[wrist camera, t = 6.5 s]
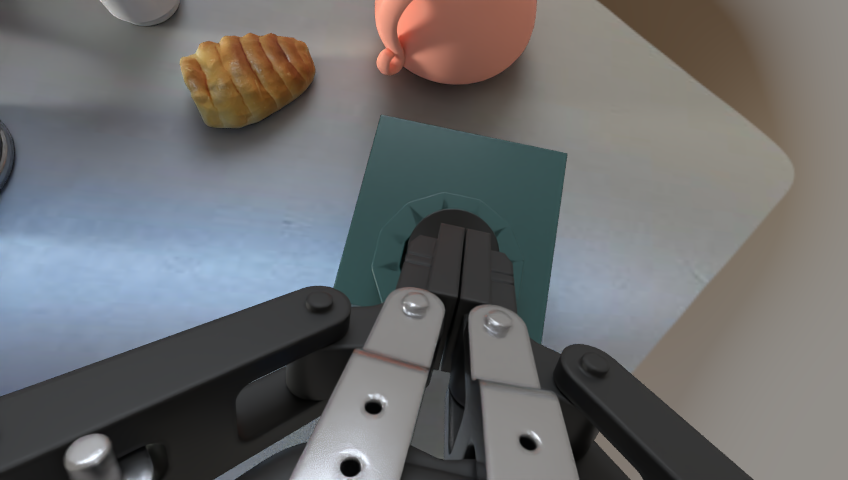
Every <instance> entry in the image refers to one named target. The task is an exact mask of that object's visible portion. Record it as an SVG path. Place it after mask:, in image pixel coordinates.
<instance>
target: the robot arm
mask: <svg viewBox="0 0 848 480" xmlns="http://www.w3.org/2000/svg"><path fill="white" fill-rule="evenodd" d="M13 161H14V145H13V140H12V137H11V135H10V133H9V131H8V129H7V128H6V127H5V125H4V124H3V123H2V122H1V121H0V190H1V189H2V187H3V186H4V184H5V182H6V181H7V179H8V177H9V174H10V172H11V169H12V166H13ZM464 231H465V228H463V227H458V226H454V225H449V224H444V223H441V225H440V230H439V234H438V239H437V238H432V237H428V236H423V235H419V236H418V237H417V238H415V239H414V240H412V241H411V242H410V245H409V248H408V251H407V255H406V258H405V261H404V264H403V267H402V270H401V273H400V276H399V280H398V283H397V286H396V289H395V290H394V291H393V292H391V293H390V294H389V295H388V297H387V298H386V300H385V302H383V303H381V304H378V305H374V306H359V307H351V302H350V300H349V298H348V297H347V296H346V295H345V294H344V293H342V292H341V291H339V290H337V289H334V288H331V287H326V286H311V287H306V288H302V289H300V290H297V291H294V292H291V293H288V294H286V295H283V296H280V297H277V298H275V299H272V300H269V301H266V302H263V303H261V304H258V305H255V306H252V307H249V308H247V309H244V310H241V311H238V312H235V313H233V314H230V315H227V316H224V317H221V318H219V319H216V320H213V321H210V322H208V323H205V324H202V325H199V326H196V327H194V328H191V329H188V330H185V331H182V332H180V333H177V334H174V335H171V336H168V337H166V338H163V339H160V340H157V341H155V342H152V343H149V344H146V345H143V346H141V347H138V348H135V349H132V350H129V351H127V352H124V353H121V354H118V355H115V356H113V357H110V358H107V359H104V360H102V361H99V362H96V363H93V364H90V365H88V366H85V367H82V368H79V369H76V370H74V371H71V372H68V373H65V374H62V375H60V376H57V377H54V378H51V379H48V380H46V381H43V382H40V383H37V384H35V385H32V386H29V387H26V388H23V389H21V390H18V391H15V392H12V393H9V394H7V395H4V396H1V397H0V480H213V479H215V478H217V477H218V476H220V475H222V474H224V473H225V472H227V471H229V470H230V469H232V468H234V467H235V466H237V465H239V464H240V463H242V462H244V461H245V460H247V459H249V458H250V457H252V456H254V455H255V454H257V453H259V452H260V451H262V450H264V449H266V448H267V447H269V446H271V445H272V444H274V443H276V442H277V441H279V440H281V439H282V438H284V437H286V436H287V435H289V434H291V433H292V432H294V431H296V430H297V429H299V428H301V427H303V426H304V425H306V424H308V423H309V422H311V421H313V420H314V419H316V418H318V417H319V416H321V417H320V419H319V421H318V423H317V425H316V427H315V429H314V431H313V433H312V435H311V437H310V439H309V441H308V442H306V443H302V444H298V445H295V446H292V447H290V448H287V449H284V450H282V451H280V452H278V453H276V454H274V455H272V456H271V457H269V458H267V459H266V460H264V461H262V462H261V463H259V464H258V465H256V466H255V467H253V468H252V469H250V470H249V471H247V472H246V473H244V474H243V475H241V476H240V477H238V478H236V479H235V480H630V479H629V478H628V476H627V475H625V473H624V472H623V471H622V470H621V469H620V468H619V467H618V466H617V465H616V464H615V463H614V462H613V460H612V459H610V457H609V456H608V455H607V454H606V453H605V452H604V451H603V450H602V449H601V448H600V447H599V446H598V444H597V443H596V442H595V441H594V439H595V438H596V436H597V434H598V433H599V431H600V432H601V433H602V434H603V435H604V437H606V439H607V440H608V441H609V442H610V443H611V444H612V445H613V446H614V447H615V448H616V449H617V450H618V451H619V452H620V453H621V454H622V455H623V456H624V457H625V458H626V459H627V460H628V461H629V462H630V463H631V465H632V466H633V467H635V469H636V470H637V471H638V472H639V473H640V475H641V476H642V478H643V480H753V479H752V478H751V477H750V476H749V475H748V474H746V473H745V472H744V471H743V470H742V469H741V468H739V467H738V466H737V465H736V464H735V463H734V462H733V461H731V460H730V459H729V458H728V457H727V456H725V455H724V454H723V453H722V452H721V451H720V450H718V448H716V447H715V446H714V445H713V444H712V443H710V442H709V441H708V440H707V439H706V438H705V437H704V436H702V435H701V434H700V433H699V432H698V431H697V430H696V429H694V428H693V427H692V426H691V425H690V424H689V423H687V422H686V421H685V420H684V419H683V418H682V417H680V416H679V415H678V414H677V413H676V412H675V411H674V410H672V409H671V408H670V407H669V406H668V405H667V404H665V403H664V402H663V401H662V400H661V399H660V398H658V397H657V396H656V395H655V394H654V393H653V392H652V391H650V390H649V389H648V388H647V387H646V386H645V385H644V384H642V383H641V382H640V381H639V380H638V379H637V378H635V377H634V376H633V375H632V374H631V373H630V372H628V371H627V370H626V369H625V368H624V367H623V366H622V365H620V364H619V363H618V362H617V361H616V360H615V359H613V358H612V357H611V356H610V355H608V354H607V353H605V352H603V351H601V350H600V349H597V348H595V347H592V346H589V345H584V344H573V345H570V346H568V347H566V348H565V349H564V350H563V352H562V354H560V353H558V352H555V351H553V350H551V349H549V348H547V347H544V346H542V345H541V344H539V343H537V342H536V341H534V340H533V339H531V338H530V337H529V334H528V330H527V326H526V324H525V323H524V321H523V320H522V319H521V318H520V317H519V316H518V315H517V305H516V294H515V286H514V284H515V283H514V277H513V276H514V273H513V264H512V262H511V261H510V260H509V258H508V257H507V255H506V254H505V253H502V252H497V251H493V250H491V233H486V232H482V231H477V230H472V229H468V228H467V229H466V231H465V235H464ZM442 355H443V358H442ZM441 358H442V366H441V371H444V372H449V373H450V382H449V385H448V389H447V392H446V396H445V421H444V460H442V459H438V458H435V457H433V456H431V455H429V454H427V453H425V452H423V451H421V450H419V449H417V448H415V447H413V446H411V442H412V438H413V434H414V430H415V427H416V423H417V419H418V415H419V411H420V408H421V404H422V400H423V396H424V392H425V388H426V387H427V386H428V385H429V383H430V379H431V376H432V372H433V369H435V370H439V366H440V362H441ZM283 366H285V367H283ZM281 367H283V368H281ZM279 368H281V369H279ZM277 369H279V370H277ZM275 370H277V371H275ZM273 371H275V372H273ZM271 372H273V373H271ZM269 373H271V374H269ZM267 374H268V375H267ZM265 375H266V376H265ZM262 376H264V377H262ZM260 377H262V378H260ZM258 378H260V379H258ZM256 379H258V380H256ZM254 380H256V381H254ZM252 381H254V382H252ZM251 382H252V383H251ZM249 383H250V384H249Z"/></svg>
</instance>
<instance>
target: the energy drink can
mask: <svg viewBox="0 0 848 480" xmlns="http://www.w3.org/2000/svg"><path fill="white" fill-rule="evenodd" d="M100 1H101V2H102V3H103V5H104V6H105V7H106V8H107V9H108V10H109V12H110V13H111V14H113V15H114V16H115V17H117V18H119V19H120V20H123V21H126V22H130V23H132V24H135V25H140V26H151V25H156V24H159V23H161V22H163V21H165V20H167V19H168V18H170V17H171V16H172V15H173V14H174V13H175V11H176V10H177V8H178V6H179V2H180V0H100Z"/></svg>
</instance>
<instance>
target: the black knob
mask: <svg viewBox="0 0 848 480" xmlns="http://www.w3.org/2000/svg"><path fill="white" fill-rule="evenodd" d="M441 223H444V224H449V225H454V226H458V227H463V228H465V231H466V229H467V228H468V229H472V230H477V231H482V232H486V233H491V250H493V251H497V252H499V245H498V242H497V239H496V236H495V234H494V232H493V231H492V229H491V228H490V227H489V225H488V224H487V223H486V222H485V221H484V220H483V219H481V218H480V217H478V216H477V215H475V214H473V213H471V212H468V211H465V210H461V209H443V210H439V211H436V212H433V213H431V214H429V215H428V216H426V217H425V218H423V219H422V220H421V221H420V222H419V223H418V224H417V226H416V227H415V228H414V230H413V231H412V233H411V236H410V238H409V242H408V247H407V251H408V248H409V245H410V242H411V241H412V240H414V239H415V238H417V237H418V236H419V235H423V236H428V237H432V238H437V239H438V234H439V230H440V225H441ZM465 231H464V235H465Z"/></svg>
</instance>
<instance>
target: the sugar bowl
mask: <svg viewBox="0 0 848 480" xmlns="http://www.w3.org/2000/svg"><path fill="white" fill-rule="evenodd" d="M536 5H537V0H375V20H376V26H377V30H378V33H379V35H380V38H381V40H382V41H383V43H384V45H385V47H386V49H384V50H383V51H382V52H381V53H380V54H379V56H378V58H377V67H378V69H379V70H380V72H381V73H383V74H385V75H394V74H396V73H398V72H399V71H400V70H401V69H402V68H403V66H404V67H405V68H406V69H408V70H409V71H411V72H412V73H414V74H416V75H418V76H420V77H422V78H425V79H428V80H431V81H434V82H438V83H443V84H453V85H457V84H470V83H476V82H480V81H484V80H486V79H489V78H491V77H494V76H495V75H497V74H499V73H501V72H502V71H504V70H505V69H506V68H508V67H509V66H510V65H511V64H512V63H513V62H514V61H515V60H516V59H517V58H519V56H520V55H521V54H522V52H523V51H524V50H525V48H526V46H527V44H528V42H529V40H530V37H531V34H532V31H533V28H534V23H535V17H536Z"/></svg>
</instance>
